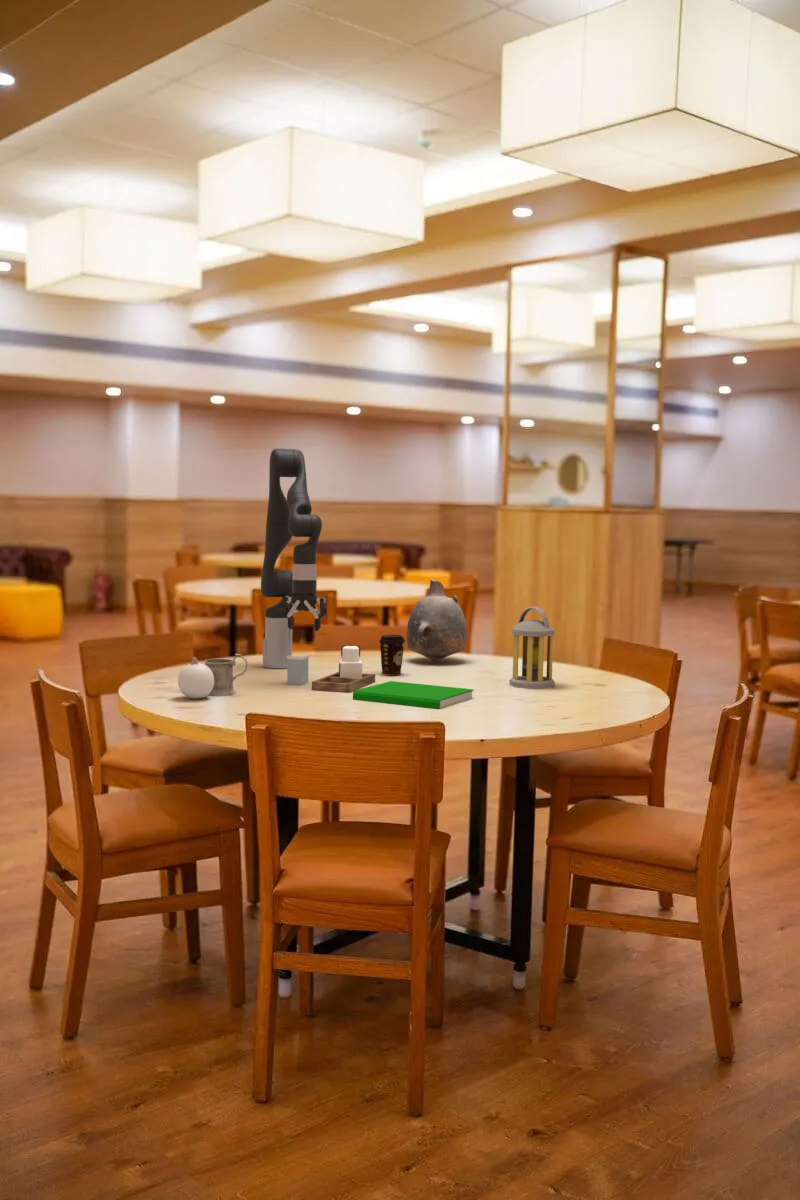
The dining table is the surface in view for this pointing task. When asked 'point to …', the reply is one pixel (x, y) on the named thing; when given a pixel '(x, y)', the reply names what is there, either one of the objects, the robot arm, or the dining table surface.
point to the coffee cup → (391, 654)
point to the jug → (437, 625)
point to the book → (413, 694)
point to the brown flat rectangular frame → (342, 683)
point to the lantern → (533, 652)
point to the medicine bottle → (350, 662)
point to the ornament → (196, 680)
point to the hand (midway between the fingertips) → (304, 630)
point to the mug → (223, 675)
